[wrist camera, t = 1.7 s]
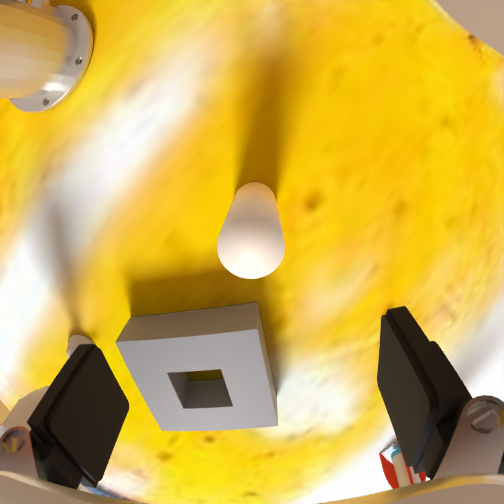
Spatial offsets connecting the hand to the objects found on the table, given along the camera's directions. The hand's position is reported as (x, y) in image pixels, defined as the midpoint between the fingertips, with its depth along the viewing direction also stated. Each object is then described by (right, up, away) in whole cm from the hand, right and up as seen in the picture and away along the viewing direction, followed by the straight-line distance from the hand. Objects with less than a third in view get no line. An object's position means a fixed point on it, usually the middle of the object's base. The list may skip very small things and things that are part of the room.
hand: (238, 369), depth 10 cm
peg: (+1, +8, +21) cm, 22 cm away
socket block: (-5, -10, +28) cm, 30 cm away
